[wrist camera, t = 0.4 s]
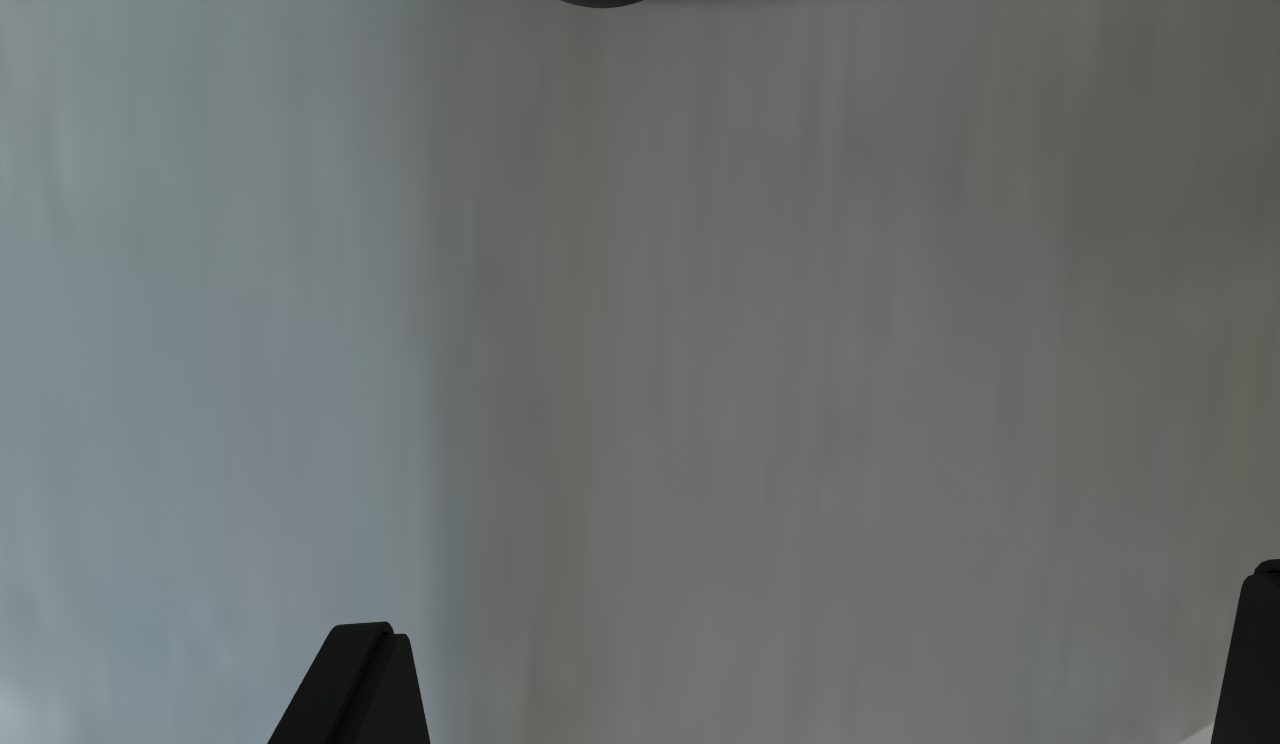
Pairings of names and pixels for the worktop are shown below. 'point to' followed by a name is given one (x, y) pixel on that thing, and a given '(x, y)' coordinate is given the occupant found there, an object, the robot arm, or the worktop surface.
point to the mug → (601, 3)
